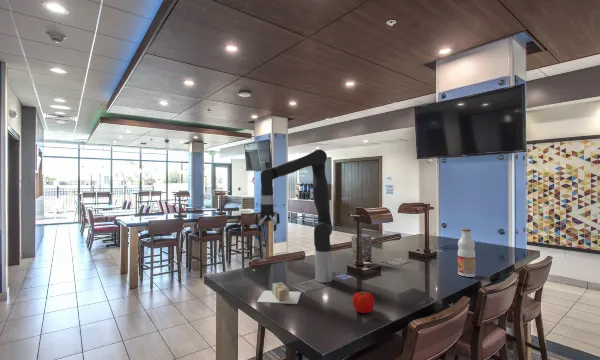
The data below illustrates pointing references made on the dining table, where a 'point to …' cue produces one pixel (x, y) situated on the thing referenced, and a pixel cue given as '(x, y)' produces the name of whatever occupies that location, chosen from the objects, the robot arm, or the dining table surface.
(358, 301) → the tomato
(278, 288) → the beige tall box
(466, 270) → the fruit juice
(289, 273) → the dining table surface
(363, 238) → the stone block
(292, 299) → the grey mat
